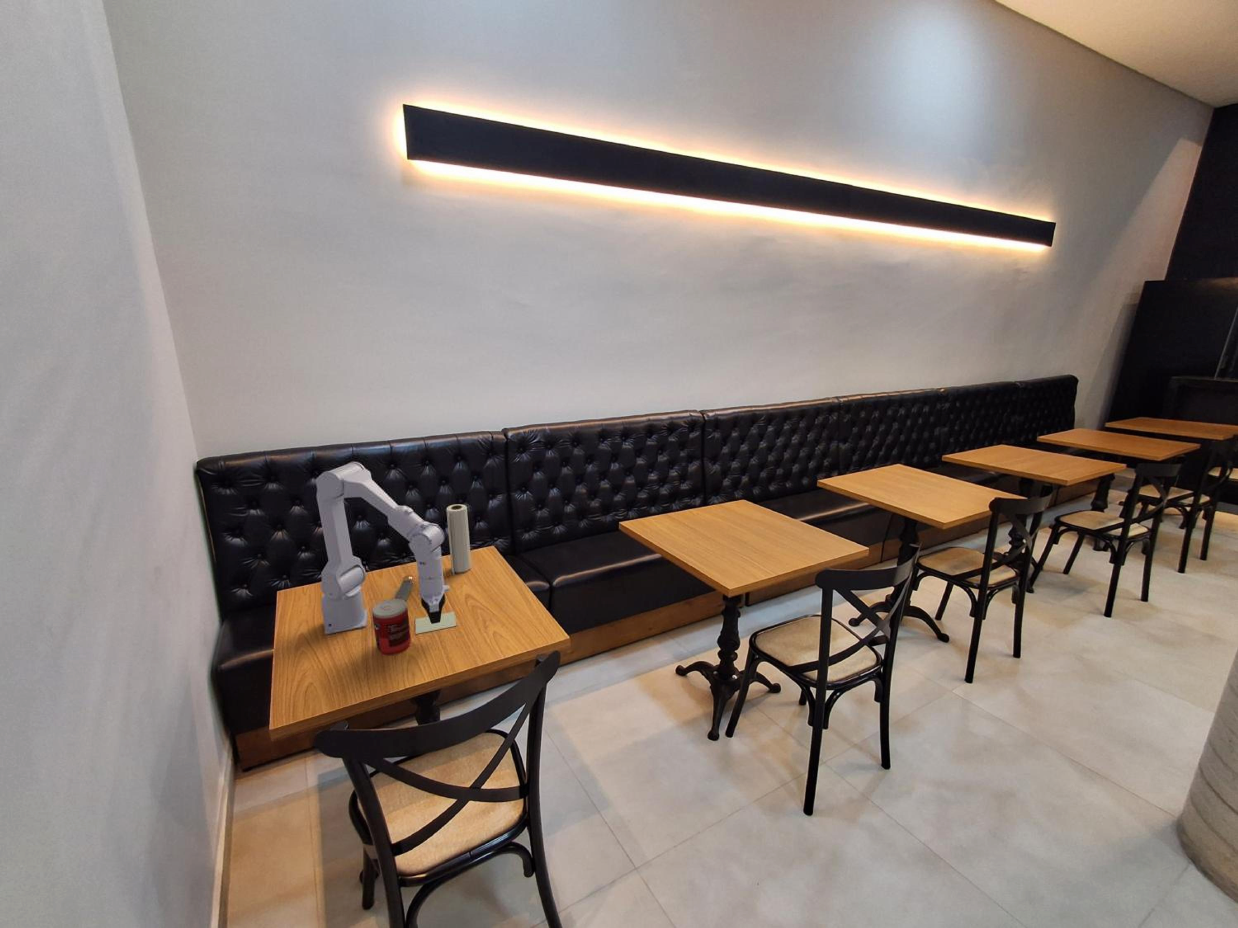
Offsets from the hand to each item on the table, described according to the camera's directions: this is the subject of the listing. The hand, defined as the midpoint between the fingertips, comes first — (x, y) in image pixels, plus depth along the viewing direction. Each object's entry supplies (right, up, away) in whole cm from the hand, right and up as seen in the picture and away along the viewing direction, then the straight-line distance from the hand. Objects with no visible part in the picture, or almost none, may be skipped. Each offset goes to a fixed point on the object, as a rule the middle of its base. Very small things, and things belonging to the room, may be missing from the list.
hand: (435, 621), depth 128 cm
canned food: (-9, -5, -2) cm, 11 cm away
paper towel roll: (-5, +6, +36) cm, 36 cm away
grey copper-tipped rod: (-15, +1, +15) cm, 21 cm away
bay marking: (-2, -2, +7) cm, 8 cm away
